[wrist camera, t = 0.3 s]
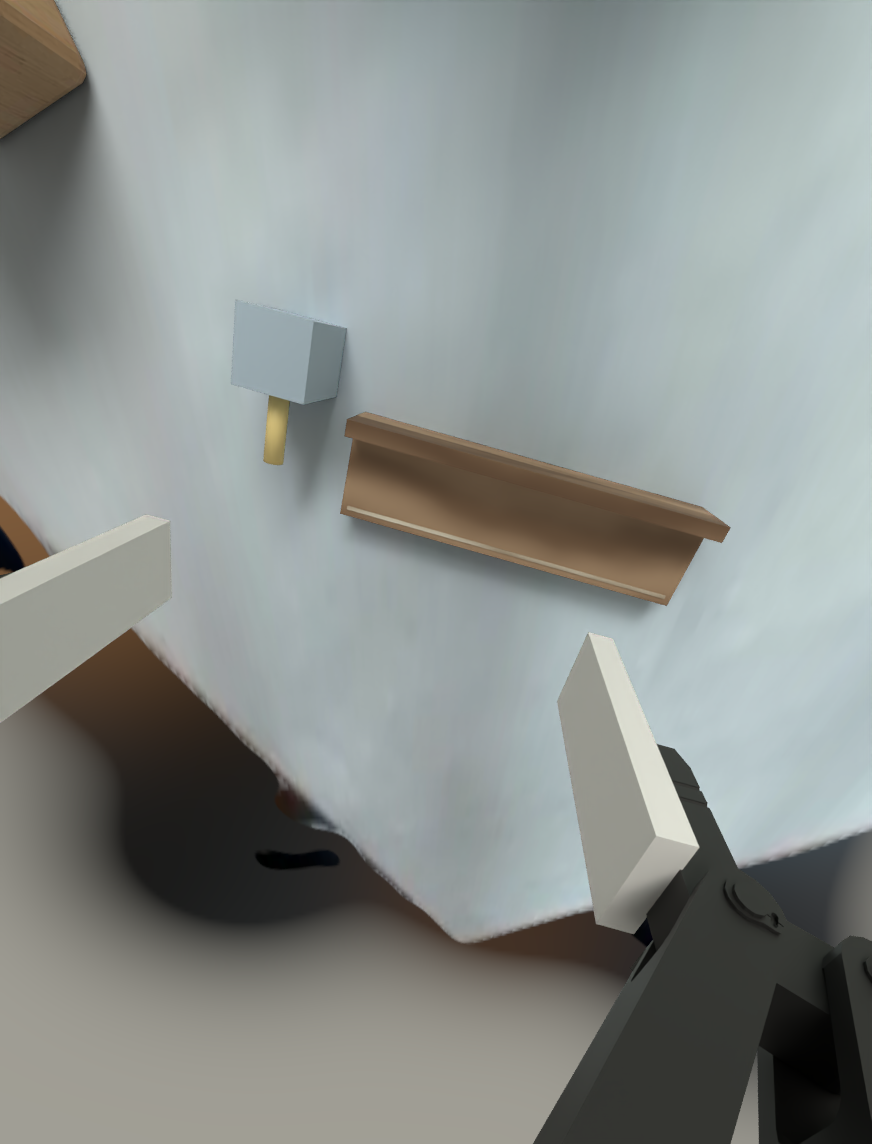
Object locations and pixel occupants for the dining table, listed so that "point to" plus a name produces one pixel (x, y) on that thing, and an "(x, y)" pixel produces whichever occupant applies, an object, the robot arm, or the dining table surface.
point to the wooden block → (34, 60)
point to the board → (522, 509)
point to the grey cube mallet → (284, 364)
